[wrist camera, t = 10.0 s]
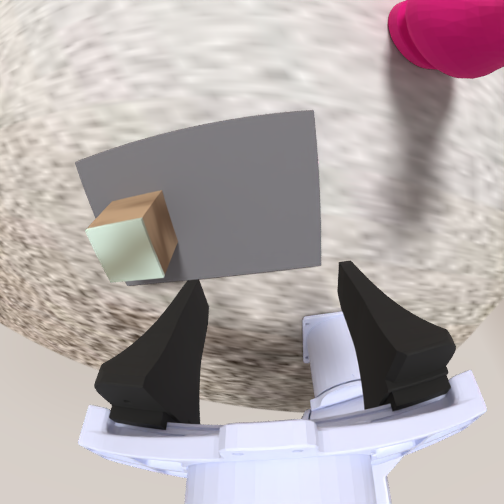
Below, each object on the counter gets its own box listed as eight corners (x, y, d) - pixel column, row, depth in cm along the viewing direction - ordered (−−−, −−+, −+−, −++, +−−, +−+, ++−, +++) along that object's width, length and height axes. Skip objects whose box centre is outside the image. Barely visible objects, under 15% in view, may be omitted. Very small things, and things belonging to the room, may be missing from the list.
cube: (110, 282, 20) (130, 248, 25) (163, 277, 20) (178, 241, 24) (85, 230, 18) (112, 201, 22) (140, 219, 17) (161, 190, 21)
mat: (320, 263, 26) (321, 265, 26) (128, 283, 28) (127, 285, 27) (312, 110, 18) (313, 110, 18) (76, 161, 20) (75, 162, 19)
